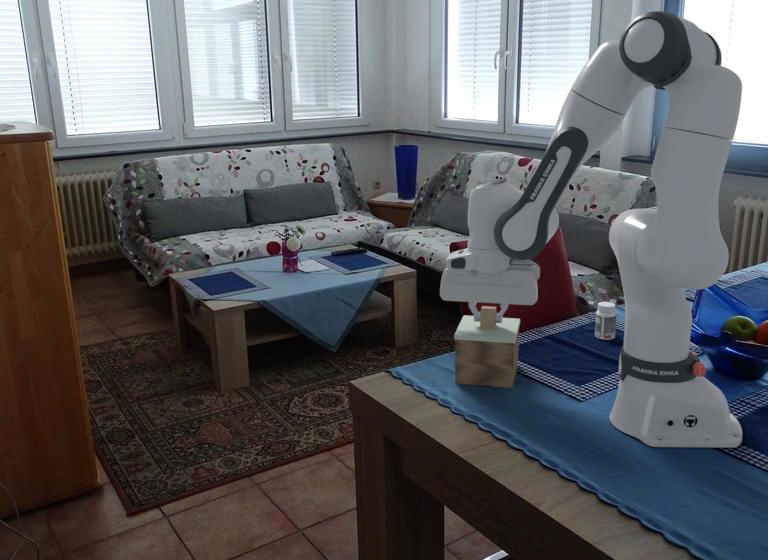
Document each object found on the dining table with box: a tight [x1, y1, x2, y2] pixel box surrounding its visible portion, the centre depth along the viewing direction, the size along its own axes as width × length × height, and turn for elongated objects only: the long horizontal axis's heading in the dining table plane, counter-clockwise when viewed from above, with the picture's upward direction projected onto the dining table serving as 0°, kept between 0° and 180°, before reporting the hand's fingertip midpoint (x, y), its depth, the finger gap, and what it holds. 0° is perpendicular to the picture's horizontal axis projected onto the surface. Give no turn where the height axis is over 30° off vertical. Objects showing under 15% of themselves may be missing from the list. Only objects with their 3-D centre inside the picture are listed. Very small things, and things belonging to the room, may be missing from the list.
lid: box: [453, 305, 521, 343], centre depth 154 cm, size 12×12×5 cm
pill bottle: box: [594, 301, 617, 341], centre depth 176 cm, size 5×5×8 cm
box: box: [454, 328, 520, 389], centre depth 156 cm, size 12×12×10 cm
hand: (488, 321), depth 154 cm, fingers closed on lid, 3 cm apart
